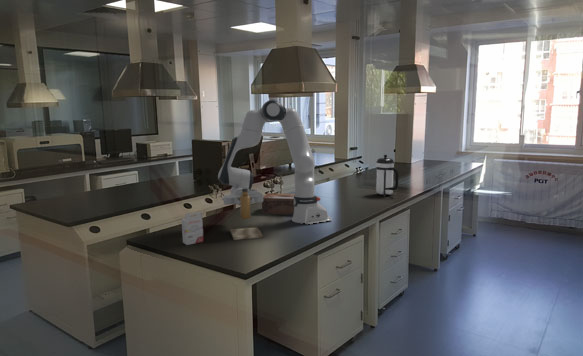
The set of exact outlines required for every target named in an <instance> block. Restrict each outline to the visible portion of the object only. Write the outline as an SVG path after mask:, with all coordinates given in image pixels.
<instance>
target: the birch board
mask: <svg viewBox="0 0 583 356" xmlns="http://www.w3.org/2000/svg"><path fill="white" fill-rule="evenodd" d="M230 234H231V237H232V238H233V241H237V240H246V239H258V238H263V234H262V232H261V230H260V229H259V228H258V227H257V226H256V227H244V228H234V229H233V228H232V229H230Z"/></svg>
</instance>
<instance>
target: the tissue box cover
mask: <svg viewBox="0 0 583 356" xmlns="http://www.w3.org/2000/svg"><path fill="white" fill-rule="evenodd" d="M294 196H295V193H270V192H269V193H266V194H264V195H263V202H261V214H263V213H264V214H263V215H268V214H267V213H272V214H271V215H286V214H293V213H294ZM265 213H266V214H265Z"/></svg>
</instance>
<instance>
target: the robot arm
mask: <svg viewBox="0 0 583 356" xmlns="http://www.w3.org/2000/svg"><path fill="white" fill-rule="evenodd" d="M276 121H278V122H279V124H280V125H281V127H282V131H283V134H284V137H285V139H286V143H287V145H288V149H289V152H290V156H291V159H292V162H293V165H294V194H295V196H294V213H293V215H292V217H291V218H292V219H291V221H292V222H294V223H295V224H303V223H305V225H308V224H310V225H314V224H313V223H317V224H320V223H319V222H324V223H327V222H326V221H331V220H332V221H333V219H332V216H330V215H329V213H328V210H327V209H326V207H325V206H323V204H321V203H320V201H321V197H320V196H316V195H315V164H316V163H315V157H314V155H313V152H312V149H311V146H310V142H309V139H308V136H307V135H306V131H305V128H304V125H303V122H302V119H301V117H300V115H299V113H298V111H297V110H296V108H293V107H287V108H286V107H285V106H284V105H283V104H282V103H280V102H279V101H278V100H275V99H269V100H267V101H266V102H264V103H263V105H262V106H261V108H260V109H259V110H258V109H257V110H256V109H251V110H248V111H247V112H246V114H245V117H244V119H243V122H242V126H241V131H240V133H239V135H238V136H236V137H234V138H233V139H232V141H231V142H230V144H229V147H228V149H227V150H228V151H227V153H226V155H225V157H224V159H223V160H224V161H223V163H222V166H221V167H220V170H219V171H218V174H217V180H218V181H219V183H221V185H224V186H225V185H226V186H232V187H231V189H230V194H226V195H223V197H221V200H222V201H223V205H237V206H241V205H240V204H241V200H240V196H241V195H243V191H242V189H243V188H248V195H250V204H255V203H256V204H257V203H262V202H263V196H264V195H263V193H261V192H259V191H258V189H252V187H253V184H254V175H253V173H252V172H251V170H248V169H245V168H244V169H243V168H237V167H232V164H233V161H234V159H235V156H236V153H238V151H240V150H243V149H247V148H253V147H255V146H257V145H258V144H259V143H260V141H261V139H262V134H263V129H264V126H265V124H266V123H272V122H273V123H274V122H276ZM332 221H331V222H332Z"/></svg>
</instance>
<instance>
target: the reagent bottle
mask: <svg viewBox="0 0 583 356" xmlns="http://www.w3.org/2000/svg"><path fill="white" fill-rule="evenodd" d="M242 191H243V195H241V196H240V200H241V204H240V205H239V206H240V219H241V220H242V219H243V220H247V219H251V203H250V195H248V188H243V189H242Z"/></svg>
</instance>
